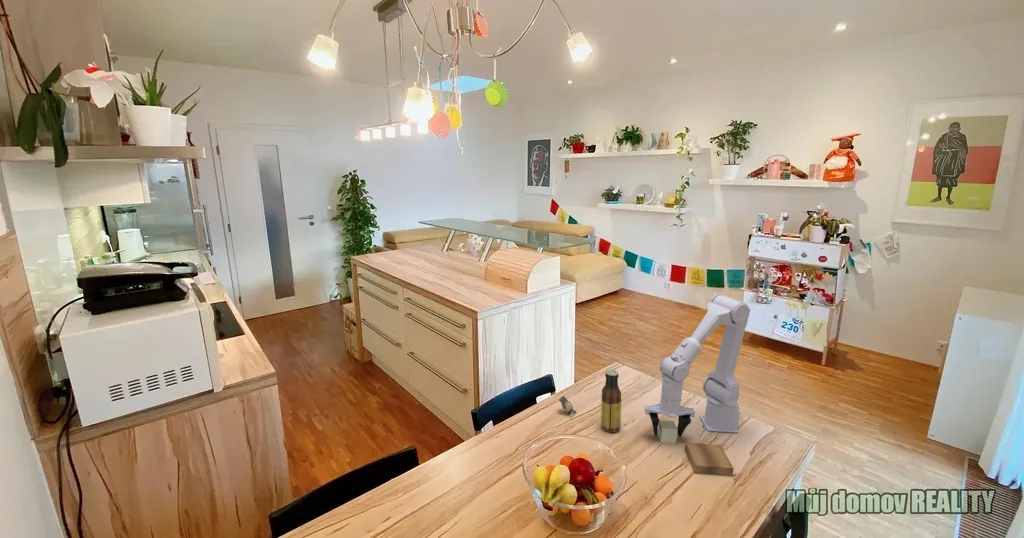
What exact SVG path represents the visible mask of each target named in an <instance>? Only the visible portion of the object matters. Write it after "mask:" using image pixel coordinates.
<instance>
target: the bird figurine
mask: <svg viewBox="0 0 1024 538" xmlns="http://www.w3.org/2000/svg"><path fill="white" fill-rule="evenodd" d="M558 401H559V402H560V404H561V407H562V409H563V411H565V412H567V413H568V414H570V415H569V416H567V418H570V420H571V419H572V418H573V415H574V414H576V413H577V411H576V409H573V408H574V406H573V403H572V402H571V401H569V400H568V399H567V398H566V397H565V396H561V397H560V398H559V399H558ZM573 401H574V400H573Z"/></svg>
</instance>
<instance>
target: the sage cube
mask: <svg viewBox="0 0 1024 538" xmlns="http://www.w3.org/2000/svg"><path fill="white" fill-rule="evenodd" d="M677 428H678V426H677V425H676V423H675V421H674V420H664V419H662V420H661V419H659V424H658V434H657V437H658V438H659V441H660V444H673V445H674V444H675V445H677V438H678V434H677V431H678V429H677Z"/></svg>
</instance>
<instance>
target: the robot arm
mask: <svg viewBox="0 0 1024 538" xmlns="http://www.w3.org/2000/svg"><path fill="white" fill-rule="evenodd" d="M750 312H751V308H750V306H749V305H748V304H747V303H746V302H744V301H740V300H737V299H735V298H731V297H730V296H726V295H724V294H720V293H715V295H713V296H712V297H711V298H710V300H709V302H708V303H707V305H706V313H705V315H704V316H703V318H702V319H701V321H700V323H699V324H698V326H697V327H696V328H695V330H694V332H693V333H692V334H691V336H690V337H685V338H684V339H682V341H681V342H680V343H679V345H677V347H676V348H675V350H674V351H673V352H672V353H671V354H670V356H666V357H664V358H663V360H661V363H660V364H659V367H658V369H659V371H660V373H661V378H662V384H661V394H660V403H658V404H652V405H644V414H645V415H647V416H648V415H649V418H650V420H651V424H652V429H653V431H652V432H653V435H654V436H655V437H658V425H659V420H660V418H659V415H662V416H668V417H669V419H676V418H677V417H678V418H677V419H678V423H677V429H678V431H677V437H678V438H682V436H683V434H684V432H685V430H686V428H687V427H688V426H689V425H690V424H691V423H692V422H691V421H692V418H695V415H696V410H695V408H694V407H686V406H683V405H681V402H682V394H683V386H684V385H683V384H684V380H686V378H688V376H689V374H690V369H691V367H692V364H693V362H694V361H695V360H696V359H697V357H698V356H699V355H700V353H701V352H702V344H703V343H704V342H705V340H706V339H708V337H709V336H710V335H712V333H713V332H715V330H716V329H717V328H718V327H719V326H725V328H724V332H723V337H722V339H721V340H722V341H721V346H720V348H719V352H718V357H717V361H716V365H715V369H714V370H711V371H709V372H707V375H706V378H705V379H704V381H703V383H702V391H703V392H704V393H705V397H706V406H705V413H704V415H699V418H700V420H701V422H702V423H703V425H704V427H705V428H706V430H707V431H708V432H720V433H721V432H722V433H739V430H738V428H739V419H740V411H741V410H740V405H739V403H738V401H739V399H740V391H739V389H740V383H739V381H738V380H737V379H736V376H735V372H736V371H735V370H736V367H737V364H738V358H739V354H740V351H741V346H742V343H743V338H744V335H745V331H746V327H747V325H748V321H749V316H750Z"/></svg>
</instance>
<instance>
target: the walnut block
mask: <svg viewBox="0 0 1024 538" xmlns="http://www.w3.org/2000/svg"><path fill="white" fill-rule="evenodd" d="M684 445H685V446H684V452H685V454H686V456H687V458H688V461H689V462H690V466H691V468H692V471H693V472H694V474H698V475H699V474H701V475H711V476H712V475H713V476H726V477H727V476H728V477H733V474H734V467H733V465H732V463H731V461H730V460H729V458H728V456H727V454H726V453H725V450H724V449H723V447H722V445H721V444H712V443H700V442H698V443H697V442H687V441H686V442H685V444H684Z"/></svg>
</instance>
